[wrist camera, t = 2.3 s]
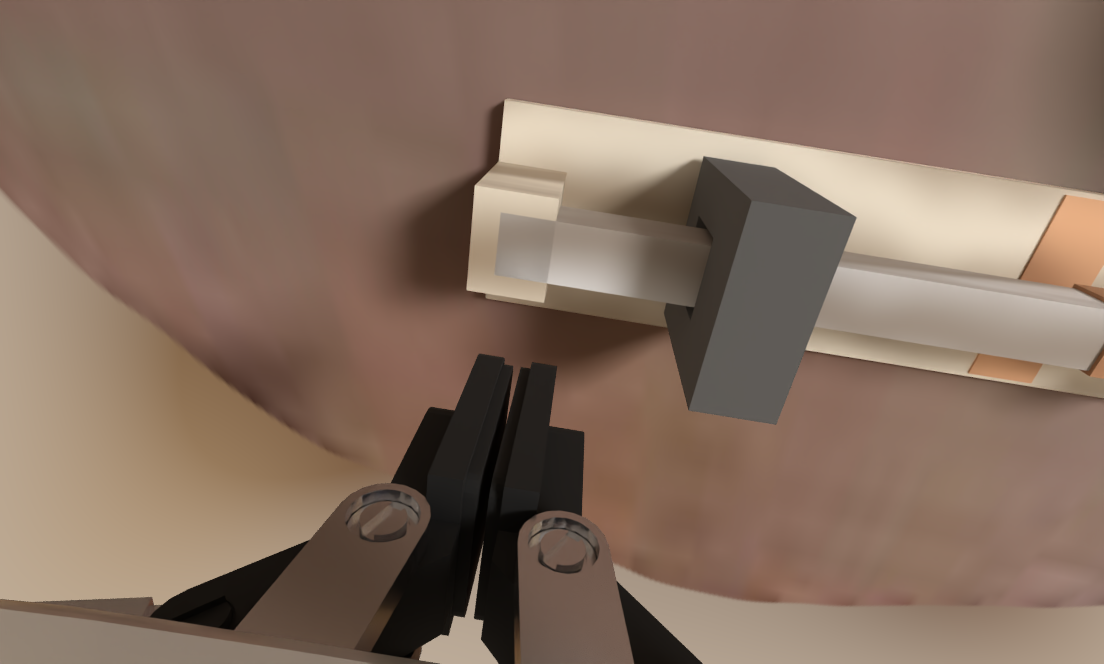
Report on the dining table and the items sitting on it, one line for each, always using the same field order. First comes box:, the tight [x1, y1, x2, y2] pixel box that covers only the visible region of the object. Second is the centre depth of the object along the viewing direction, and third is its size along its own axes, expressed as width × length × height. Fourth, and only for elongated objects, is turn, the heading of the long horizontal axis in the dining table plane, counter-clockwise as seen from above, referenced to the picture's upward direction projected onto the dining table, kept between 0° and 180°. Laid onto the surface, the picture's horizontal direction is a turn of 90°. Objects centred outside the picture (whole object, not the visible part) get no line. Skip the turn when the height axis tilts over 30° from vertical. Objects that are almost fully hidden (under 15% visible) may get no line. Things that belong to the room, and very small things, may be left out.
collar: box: [664, 156, 857, 425], centre depth 21 cm, size 7×3×8 cm, turn 172°
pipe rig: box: [467, 98, 1104, 398], centre depth 23 cm, size 9×34×6 cm, turn 82°
